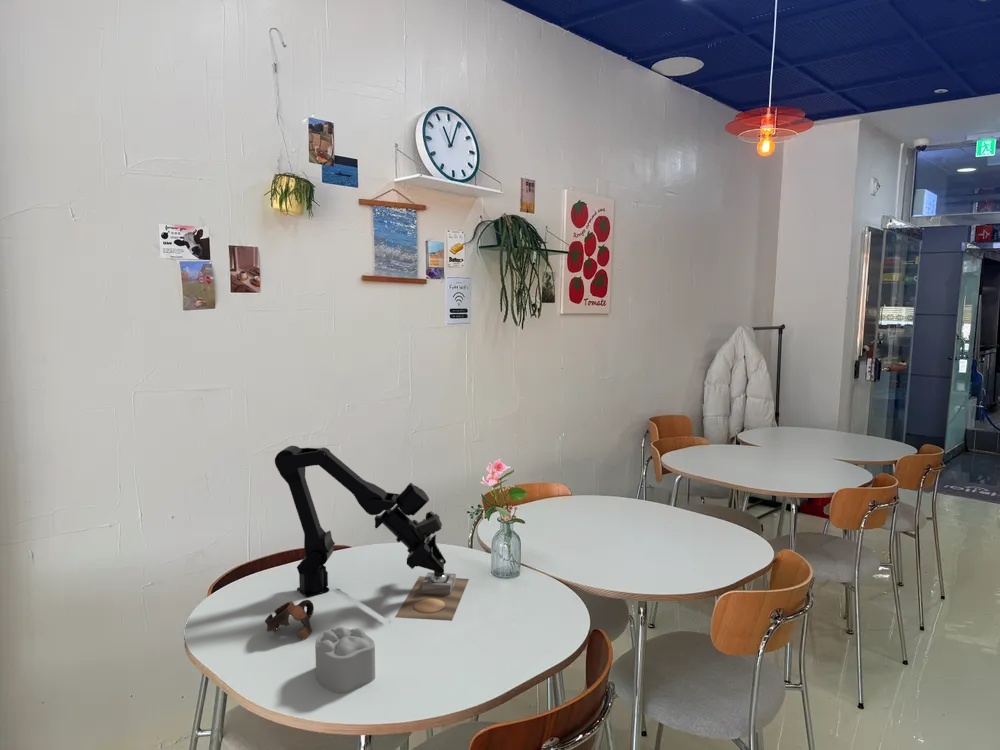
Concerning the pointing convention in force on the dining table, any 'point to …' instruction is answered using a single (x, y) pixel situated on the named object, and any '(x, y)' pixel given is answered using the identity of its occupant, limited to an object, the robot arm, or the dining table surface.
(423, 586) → the brown wooden board
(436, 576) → the nail polish bottle
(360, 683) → the grey paw block
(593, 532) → the dining table surface
